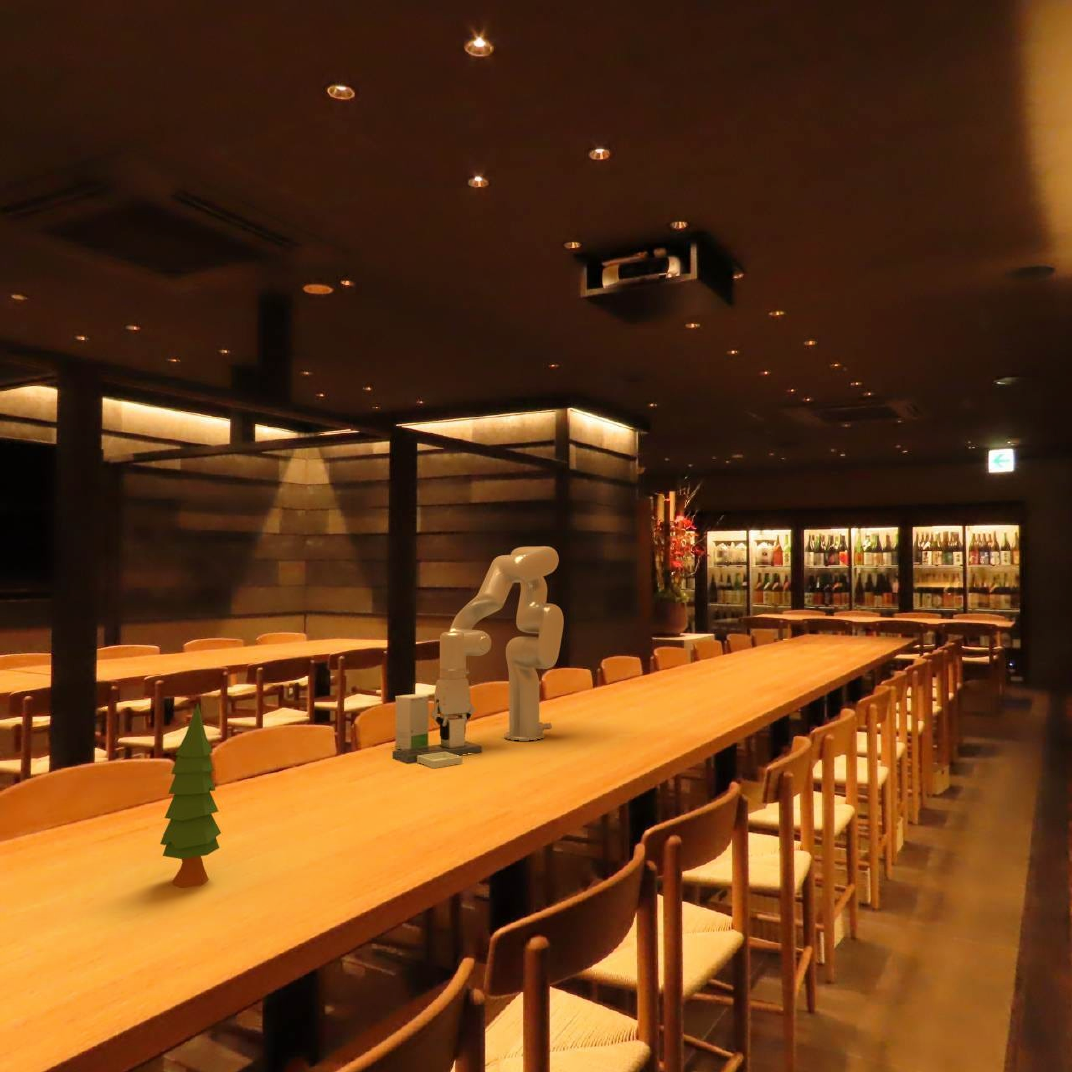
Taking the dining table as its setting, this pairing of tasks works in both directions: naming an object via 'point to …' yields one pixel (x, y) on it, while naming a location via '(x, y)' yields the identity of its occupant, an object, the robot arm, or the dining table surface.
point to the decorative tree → (192, 807)
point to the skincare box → (412, 721)
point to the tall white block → (455, 733)
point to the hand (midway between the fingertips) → (452, 737)
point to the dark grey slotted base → (434, 751)
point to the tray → (439, 759)
